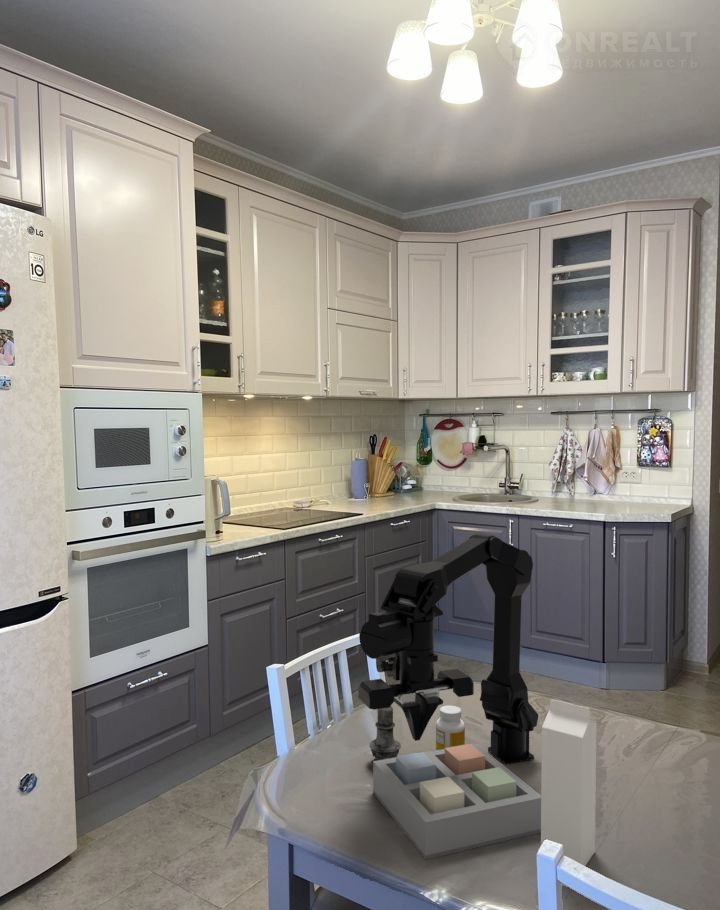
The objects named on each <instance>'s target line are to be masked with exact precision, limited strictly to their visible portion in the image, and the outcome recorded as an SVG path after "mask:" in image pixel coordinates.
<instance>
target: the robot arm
mask: <svg viewBox="0 0 720 910" xmlns="http://www.w3.org/2000/svg"><path fill="white" fill-rule="evenodd" d="M480 565H483V566H484V567H485V570H486V580H487V582H488V584H489V587H490V588H491V589H492V592H493V594H494V604H493V605H494V606H493V607H494V608H493V613H494V614H493V639H492V644H493V645H492V667H491V668H492V669H491V672H490V673H489V674H488V676H487V677H486V679H485V678H484V679H482V680H481V682H480V689H481V690H480V691H481V692H480V698H479V701H480V702H481V706H482V709H483V711H484V716H485V719H486V720H487V721H489V720H490V721H492V730H490V746H488V748H487V750H488V752H490V753H491V755H492V756H493V755H494V757H496V758H497V759H499V760H500V761H501V762H502V764H503V763H504V764H506V765H508V764H515V763H518V762H525V761H530V760H534V759H535V755H534V754H532V752H530V732H533V731H534V730H535V727H537V725H538V721H539V714H538V713H537V711H536V710H535V709H534V707H533V706H532V705H531V703H529V694H528V693H529V691H528V690H529V689H528V686H527V684H526V682H525V681H524V679H523V676H522V674H521V672H520V661H521V658H520V657H521V655H520V654H521V630H522V629H521V626H522V625H521V623H522V618H521V617H522V596H523V594H524V592H525V591H526V589H527V588H528V586H529V585H530V584H531V580H532V573H533V572H532V571H533V568H534V562H533V557H532V556H531V554H529V552H528V551H527V550H524V549H519V548H517V547H515V546H513V545H511V544H509V543H506V542H504V540H502V539H500V538H499V537H497V536H495V535H491V534H483V533H475V534H472V535H471V536H470V537H469V539H467V540H466V541H464V542H462V543H459V545H457V546H455V547H454V548H452V549H450V550H449V551H446V553H443V554H442V555H440V556H438V557H437V558H435V559H433V560H431V561H428V562H421V563H414V564H411V565H408V566H406V567H403V568H401V569H399V570H398V571H397V572H396V573H395V576H394V580H393V582H392V583H391V586H390V588H389V590H388V592H387V594H386V596H385V598H384V599H383V602H382V604H381V606H380V610H381V611H380V612H370V613H369V614H368V621H366V622H365V623H364V624H362V627H361V629H360V632H359V636H358V637H359V643H360V647H361V649H362V651H363V653H364V654H365V655H366V656H367V657H368V658H370V659H372V660H374V659H375V666H376V671H377V672H378V673H384V672H385V673H386V677H387V678H390V677H392V679H393V680H394V681H397V682H398V683H393V684H388V683H387V682H385V681H384V680H383V679H382V678H377V679H369V680H368V679H367V680H363V681H361V683H360V684H359V686H357V688H358V691H357V693H358V694H357V697H358V699H359V700H360V701H361V702H363V704H364V705H365V706H366V707H367V708H368V709H369V710H374V711H375V710H378V709H381V708H388V707H390V706H392V705H393V704H394V703H395V704H396V705H397V706H398V707H400V708H401V710H402V711H403V715H404V717H405V720H406V722H407V725H408V728H409V731H410V734H411V736H412V739H413V741H415V742H416V741H420V740H421V738H422V736H423V734H424V732H425V730H426V728H427V726H428V724H429V722H430V720H431V718H432V716H433V715H434V714H435V712H436V710H437V708H438V707H439V706H440V705H443V704H444V700H443V699H442V698H440V692H441V691H446V690H447V691H448V690H452V692H453V694H455V695H456V696H457V697H458V698H462V697H469V696H473V695H474V694H475V691H474V690H475V688H474V685H475V684H474V680H473V679H472V678H471V677H470V675H467V674H466V673H464V672H463V671H461V670H459V669H458V668H454V669H446V670H439V671H438V673H437V678H435V662H438V661H439V659H438V657H439V655H438V654H436V653H435V618H437V617H442V616H443V615H444V611H443V610H442V609H441V608H440V607H438V606H437V605H436V604H438V602H440V601H441V600H442V599H443V598H444V597H445V596H446V595H447V592H448V588H449V586H451V584H452V583H454V582H455V581H457V580H458V579H460V578H461V577H463V576H465V575H466V574H467V573H469V572H471V571H472V570H474V569H475V568H477V567H479V566H480ZM400 602H401V603H400ZM412 605H413V606H412ZM393 654H395V656H391V655H393Z"/></svg>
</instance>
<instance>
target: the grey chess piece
mask: <svg viewBox="0 0 720 910" xmlns="http://www.w3.org/2000/svg"><path fill="white" fill-rule="evenodd" d="M395 726H396V723H394V708H393V706H392V705H391V706H390V707H388V708H381V709H377V721H376V723H375V727H376V738H374V739H373V740H371V741H370V742H369V748H370V751H371V753H372V757H374V758H373V759H372V760H371V762H370V767H372V768H373V761H378V760H384V759H389V758H395V757H396V756H399V752H400V749H401V746H402V744H401V743H400V741H398V740H397V739H395V738H394V728H395Z"/></svg>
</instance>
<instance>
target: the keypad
mask: <svg viewBox="0 0 720 910" xmlns="http://www.w3.org/2000/svg"><path fill="white" fill-rule="evenodd" d="M470 744H471V745H472V746H474V747H475V748H476V749H477V750H478V751H480V752H481V753H482V754H483V755H485V770H486V769H492V768H497V767H499V768H501V769H502V770H503V771H504V772H506V773H507V774H508V775H509V776H510V777H512V778H513V779H514V780H515V781H516V797H512V798H507V799H503V800H498V801H493V802H488V803H485V802H484V801H483V800H482V799H481V798H480V797H479V796H477V795H476V794H475V793H474V792H473V791H472V772H470V773H465V774H460V775H455V774H454V773H453V772H452V771H451V770H450V769H449V768H448V767H446V766H445V749H441V750H436V749H435V750H430V751H423V753H424V754H425V755H426V756H428V757H429V758H430V759H431V760H432V761H433V762H434V763H435V764H436V779H439V778H444V777H449V778H450V779H452V780H453V781H454V782H455V783H456V784H457V785H458V786H459V787H460V788H461V789H462V790H463V791H464V808H460V809H455V810H450V811H445V812H441V813H436V814H430V813H429V812H428V811H427V810H426V809H425V808H424V806H423V805H422V804H421V803H420V782H418V783H412V784H407V785H404V784H403V783H402V782H401V781H400V779H399V778H398V777H397V776H396V757H395V758H389V759H384V760H378V761H373V767H372V774H373V775H372V780H373V781H372V793H373V794H374V796H375V797H376V799H377V800H378V801H379V802H380V804H381V805H382V807H384V809H385V810H386V812H387V813H388V814H389V815H390V816H391V818H392V819H393V820H394V822H395V823H396V824H397V825H398V827H399V828H400V830H402V832H403V833H404V835H405V836H406V837H407V838H408V839H409V840H410V841H409V842H410V843H412V845H413V846H414V848H416V850H417V851H418V852H419V854H420V855H421V856H422V857H423V859H424V860H425V861H427V860H430V859H434V858H439V857H442V856H447V855H452V854H455V853H459V852H460V851H461V852H464V850H465V851H469V850H472V848H474V849H477V848H476V847H478V848H481V847H485V846H484V845H486V846H489V845H488V844H491V845H494V844H493V843H495V844H498V842H499V843H503V842H508V841H511V840H510V839H512V840H515V839H514V838H516V839H519V837H520V838H524V837H523V836H525V837H528V836H533V835H537V834H541V793H539V792H537V791H536V789H535V790H534V788H532V787H531V786H530V785H529V784H527V783H526V782H525V781H524V780H522V779H521V778H520V777H519V776H517V774H515V773H514V772H512V771H511V770H510V769H508V768H507V767H506V766H505V765H504V764H503V763H501V762H500V761H499V760H497V759H496V758H495V756H494V757H493V755H492V754H490V753H488V752H487V751H486V750H485V749H484V748H483V747H481V745H479V744H477V743H470ZM433 780H434V779H433ZM507 840H508V841H507ZM502 841H503V842H502ZM480 846H481V847H480ZM468 849H469V850H468Z"/></svg>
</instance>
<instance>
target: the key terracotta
mask: <svg viewBox="0 0 720 910" xmlns="http://www.w3.org/2000/svg"><path fill="white" fill-rule="evenodd" d="M471 744H472V743H465V745H460V746H454V747H449V748H445V766H446V767H448V768H449V769H450V770H451V771H452V772H453V773H454V774H455V775H460V774H465V773H470V772H476V771H481V770H485V755H483V754H482V753H481V752H480V751H478V750H477V749H476V748H475V747H474V746H472V745H471Z"/></svg>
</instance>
